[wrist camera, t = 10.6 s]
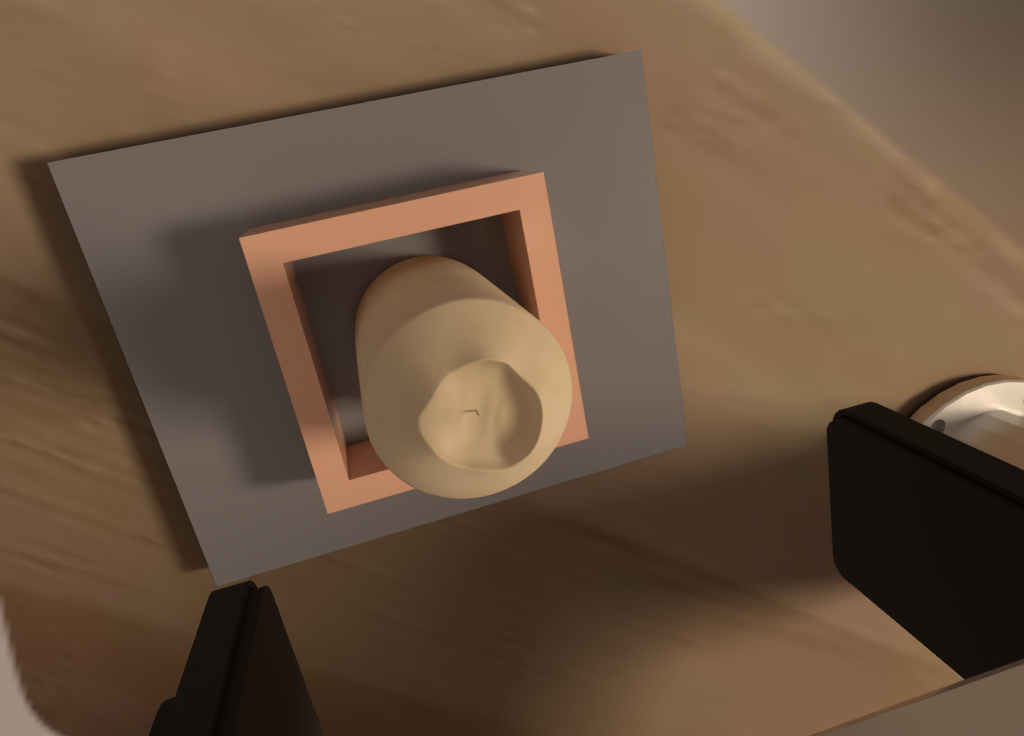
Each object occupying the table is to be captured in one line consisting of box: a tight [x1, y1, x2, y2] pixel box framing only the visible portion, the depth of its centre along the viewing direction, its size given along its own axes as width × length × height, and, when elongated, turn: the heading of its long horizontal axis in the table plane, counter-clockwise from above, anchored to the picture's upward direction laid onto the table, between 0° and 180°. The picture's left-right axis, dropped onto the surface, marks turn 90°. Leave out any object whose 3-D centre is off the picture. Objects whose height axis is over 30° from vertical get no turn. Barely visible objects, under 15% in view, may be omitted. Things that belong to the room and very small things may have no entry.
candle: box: [354, 256, 572, 499], centre depth 21 cm, size 6×6×10 cm
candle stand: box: [47, 50, 687, 586], centre depth 25 cm, size 20×16×4 cm
